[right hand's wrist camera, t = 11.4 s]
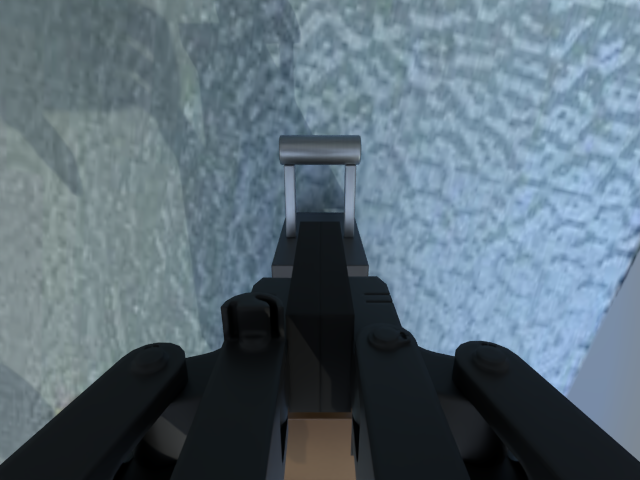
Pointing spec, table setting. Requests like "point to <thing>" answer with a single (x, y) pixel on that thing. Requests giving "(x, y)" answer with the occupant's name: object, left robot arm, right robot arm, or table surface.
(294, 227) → the drawer
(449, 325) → the table surface
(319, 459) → the tall brown box
